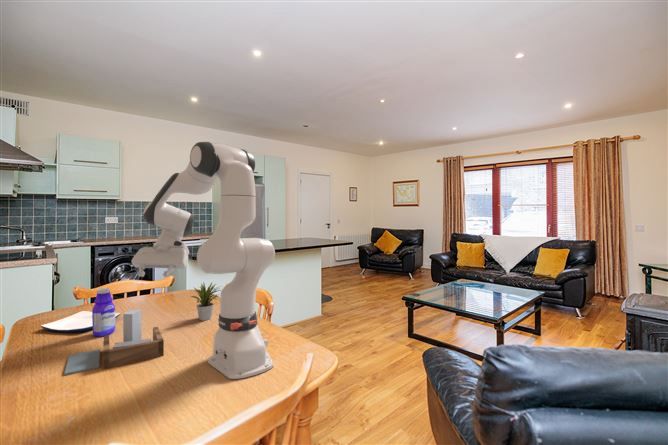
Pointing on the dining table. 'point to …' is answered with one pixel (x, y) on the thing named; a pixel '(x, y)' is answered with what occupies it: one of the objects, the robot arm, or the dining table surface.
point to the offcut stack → (130, 343)
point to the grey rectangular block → (132, 325)
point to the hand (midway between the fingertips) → (153, 276)
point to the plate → (73, 323)
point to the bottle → (103, 313)
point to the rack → (133, 351)
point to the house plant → (205, 301)
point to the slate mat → (82, 362)
